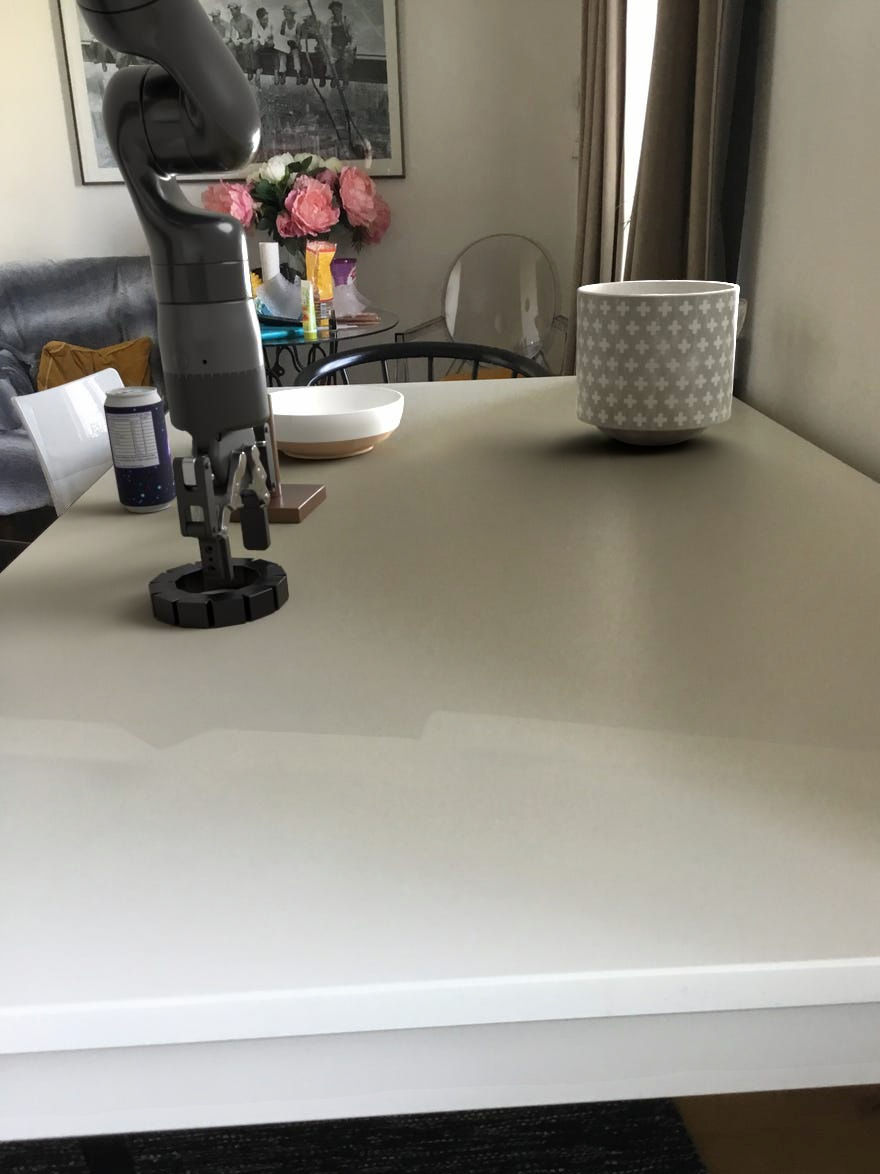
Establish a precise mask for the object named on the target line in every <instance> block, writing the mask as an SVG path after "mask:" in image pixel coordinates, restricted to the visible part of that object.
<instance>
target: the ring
mask: <svg viewBox="0 0 880 1174" xmlns="http://www.w3.org/2000/svg"><path fill="white" fill-rule="evenodd" d="M231 558H232V565H233V573H234V578H233V580H232V581H231V582H230V583H228V584H208V583H207V582H206V581H205V580H204V576H203V569H202V562H201V560H197V561H194V563H190V562H188V563H184V564H181V565H178V566H175V567H173V568H169V569H167V570H165V572H164V571H163V572H162V571H161V572H160V573H159V574H158V575H156V576H155V577H154V578H153V579H151V580H150V581H149V582H148V584H147V587H148V593H149V599H150V607H151V610H152V614H153V618H155V619H156V620H157V621H160V622H162V623H165V624H168V625H171V626H174V627H176V626H179V627H180V628H195V629H196V628H197V629H199V628H200V629H210V627H211V626H213V625H214V627H215V628H222V627H229V626H235V625H241V624H246V623H247V620H248V621H251V622H253V621H256V620H258V619H261V618H263V617H266V616H269V615H271V614H274V613H275V612H276V610H277V611H279V610H281V608H282V607H283V606H284V605H285V604H286V603H287V602H288V600H289V598H290V593H289V583H288V574H287V572H286V571H285V569H284V568H283V566H282V565H279V563H276V562H273V561H270V560H266V559H262V558H258V559H255V557H231ZM221 589H236V590H227V591H221V592H214V593H202V592H208V591H215V590H221Z"/></svg>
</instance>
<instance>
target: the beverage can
mask: <svg viewBox="0 0 880 1174" xmlns="http://www.w3.org/2000/svg"><path fill="white" fill-rule="evenodd" d="M105 396H106V397H105V400H104V403H103V412H104V417H105V424H106V429H107V435H108V440H109V448H110V453H111V458H112V464H113V471H114V477H115V482H116V488H117V495H118V500H119V503H120V504H121V505H122V506H124V507H125V508H127V509H128V511H130V512H132V513H140V514H142V513H143V514H144V513H145V514H146V513H147V514H148V513H154V512H159V511H163V510H166V509H168V508H170V507H171V504H172V502H173V501H174V500H175V499H177V498H176V490H175V482H174V475H173V467H172V463H173V461H172V457H171V450H170V443H169V442H170V441H169V436H168V429H167V428H168V427H167V423H166V416H165V408H164V402H163V399H162V398H161V397H160V394H158V390H157V388H156V387H155V386H147V385H146V386H145V385H137V386H124V387H117V388H112V389H108V390H107V391H105Z"/></svg>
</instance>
